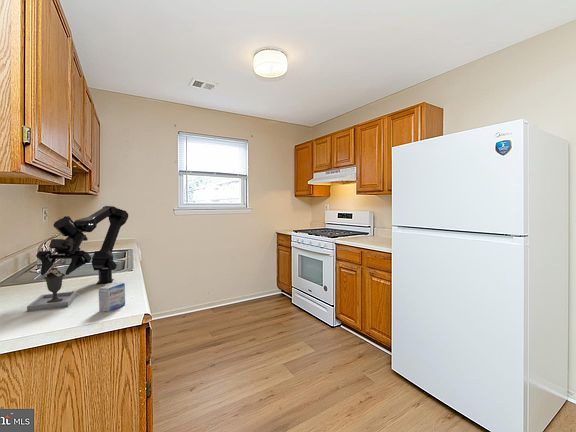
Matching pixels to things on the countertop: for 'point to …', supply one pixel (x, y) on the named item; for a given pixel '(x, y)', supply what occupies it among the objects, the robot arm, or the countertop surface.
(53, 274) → the sundae
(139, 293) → the countertop surface
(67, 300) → the tray
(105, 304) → the medicine box
